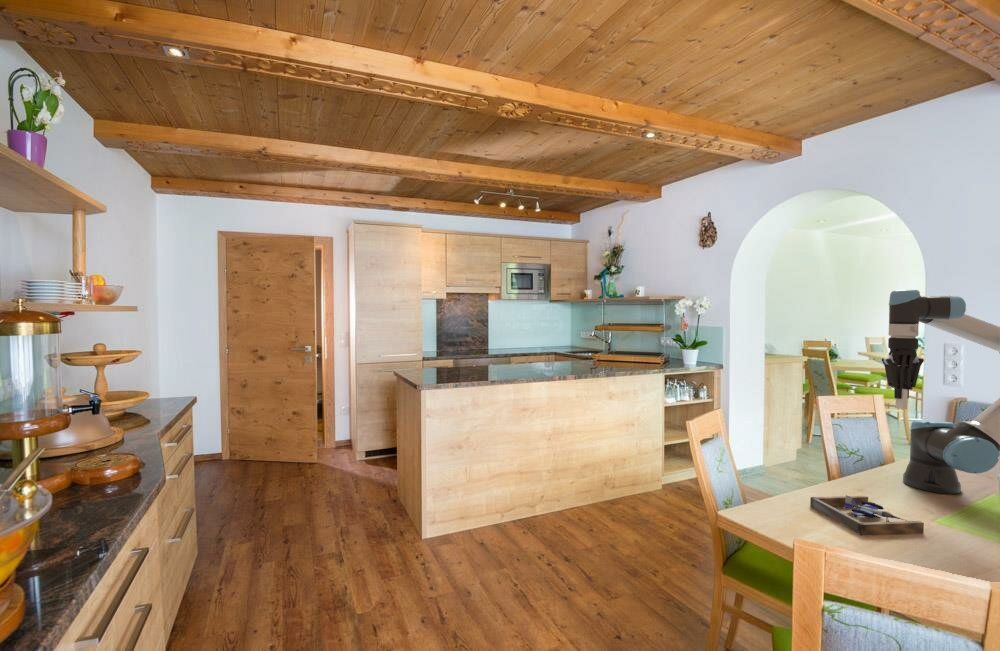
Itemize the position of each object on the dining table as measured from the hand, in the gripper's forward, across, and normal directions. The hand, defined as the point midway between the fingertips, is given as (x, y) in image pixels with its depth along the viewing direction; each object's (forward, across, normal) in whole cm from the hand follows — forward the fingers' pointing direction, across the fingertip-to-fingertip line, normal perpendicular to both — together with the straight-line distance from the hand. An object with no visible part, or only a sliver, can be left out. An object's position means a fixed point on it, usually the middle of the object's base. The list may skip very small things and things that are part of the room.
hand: (901, 408), depth 157 cm
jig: (+29, -26, -15) cm, 42 cm away
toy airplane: (+30, -24, -15) cm, 41 cm away
